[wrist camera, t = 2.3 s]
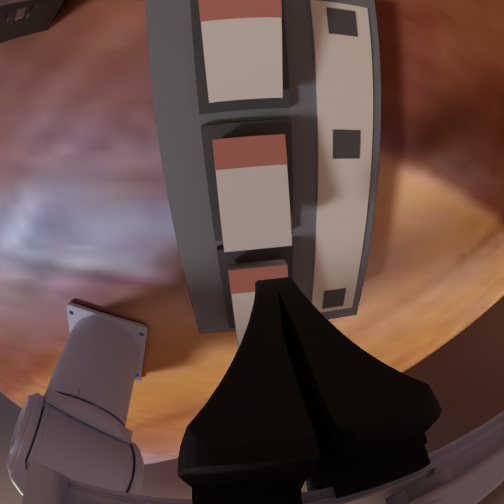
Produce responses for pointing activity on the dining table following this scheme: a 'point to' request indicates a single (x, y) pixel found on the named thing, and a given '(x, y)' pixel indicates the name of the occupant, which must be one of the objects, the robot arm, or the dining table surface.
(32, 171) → the dining table surface
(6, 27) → the electrical switch
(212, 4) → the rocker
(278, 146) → the rocker middle
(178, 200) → the switch panel
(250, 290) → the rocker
